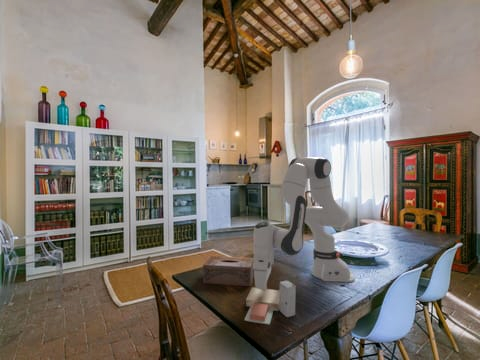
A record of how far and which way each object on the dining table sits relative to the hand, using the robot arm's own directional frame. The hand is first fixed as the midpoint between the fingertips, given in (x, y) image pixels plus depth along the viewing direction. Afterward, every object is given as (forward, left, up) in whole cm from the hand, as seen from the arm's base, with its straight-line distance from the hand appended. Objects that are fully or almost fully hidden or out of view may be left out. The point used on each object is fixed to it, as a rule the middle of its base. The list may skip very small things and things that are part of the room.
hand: (264, 289), depth 106 cm
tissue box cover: (+23, -20, -6) cm, 31 cm away
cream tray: (0, -1, -6) cm, 6 cm away
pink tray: (0, +10, -6) cm, 11 cm away
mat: (0, +10, -6) cm, 12 cm away
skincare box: (-11, +5, -6) cm, 13 cm away
